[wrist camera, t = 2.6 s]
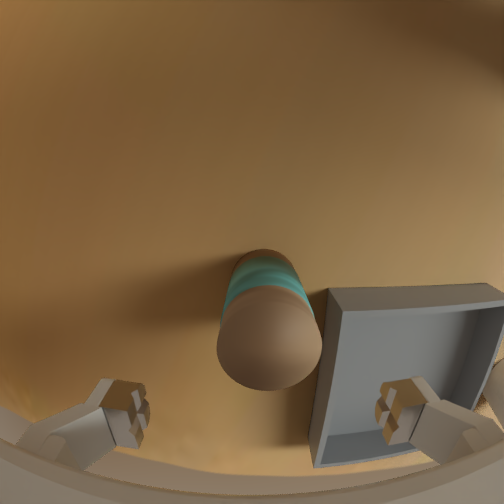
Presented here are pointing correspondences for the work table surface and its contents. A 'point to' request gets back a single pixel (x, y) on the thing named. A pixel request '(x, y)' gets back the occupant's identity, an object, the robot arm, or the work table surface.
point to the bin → (398, 359)
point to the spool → (267, 324)
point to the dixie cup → (496, 391)
